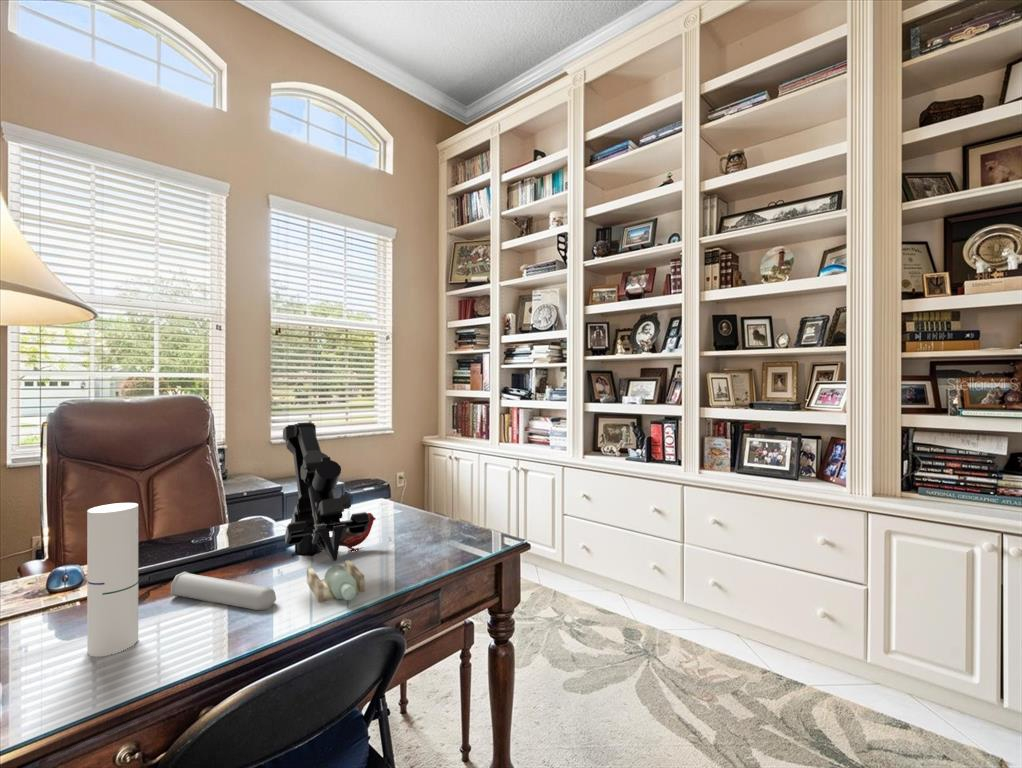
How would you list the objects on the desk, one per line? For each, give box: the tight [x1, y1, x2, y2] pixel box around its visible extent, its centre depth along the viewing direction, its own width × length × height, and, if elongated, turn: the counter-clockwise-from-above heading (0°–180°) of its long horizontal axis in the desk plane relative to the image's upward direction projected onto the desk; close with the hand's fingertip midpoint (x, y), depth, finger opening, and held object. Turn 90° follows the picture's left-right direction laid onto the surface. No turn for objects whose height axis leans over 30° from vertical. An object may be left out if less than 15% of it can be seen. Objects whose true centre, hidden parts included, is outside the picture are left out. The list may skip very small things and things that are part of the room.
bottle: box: [323, 564, 357, 601], centre depth 109 cm, size 5×5×11 cm
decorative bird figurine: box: [330, 512, 377, 553], centre depth 137 cm, size 3×18×10 cm, turn 138°
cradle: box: [306, 559, 365, 603], centre depth 113 cm, size 12×10×4 cm
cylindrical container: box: [86, 502, 139, 658], centre depth 89 cm, size 7×7×25 cm
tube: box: [170, 571, 277, 611], centre depth 106 cm, size 5×5×25 cm
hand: (335, 560), depth 113 cm, fingers closed
